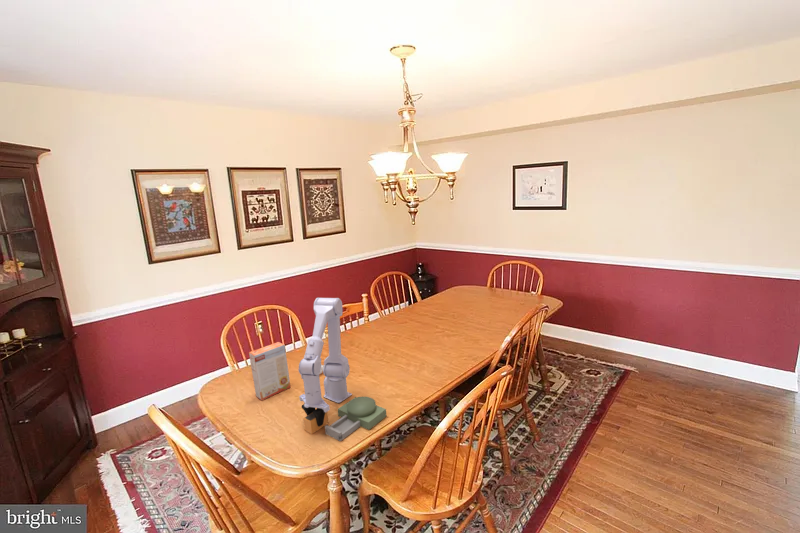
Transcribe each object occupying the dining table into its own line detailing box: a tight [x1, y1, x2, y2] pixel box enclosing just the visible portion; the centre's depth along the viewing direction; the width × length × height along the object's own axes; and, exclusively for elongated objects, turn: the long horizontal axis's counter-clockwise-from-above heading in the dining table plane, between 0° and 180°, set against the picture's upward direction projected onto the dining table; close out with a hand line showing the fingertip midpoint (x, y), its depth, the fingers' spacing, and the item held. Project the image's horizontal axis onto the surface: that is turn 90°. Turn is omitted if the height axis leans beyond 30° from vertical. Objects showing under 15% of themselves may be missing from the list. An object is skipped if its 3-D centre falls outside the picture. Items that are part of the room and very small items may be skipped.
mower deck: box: [324, 396, 387, 442], centre depth 143 cm, size 16×21×5 cm
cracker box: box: [248, 341, 291, 401], centre depth 166 cm, size 14×6×21 cm, turn 135°
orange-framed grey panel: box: [302, 411, 330, 435], centre depth 142 cm, size 4×8×5 cm, turn 143°
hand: (316, 422), depth 142 cm, fingers closed on orange-framed grey panel, 4 cm apart
